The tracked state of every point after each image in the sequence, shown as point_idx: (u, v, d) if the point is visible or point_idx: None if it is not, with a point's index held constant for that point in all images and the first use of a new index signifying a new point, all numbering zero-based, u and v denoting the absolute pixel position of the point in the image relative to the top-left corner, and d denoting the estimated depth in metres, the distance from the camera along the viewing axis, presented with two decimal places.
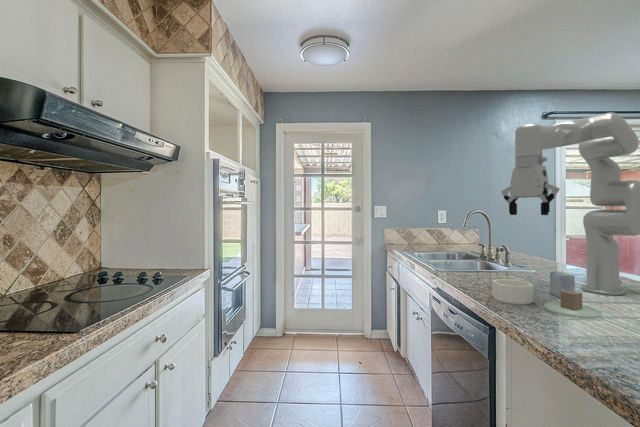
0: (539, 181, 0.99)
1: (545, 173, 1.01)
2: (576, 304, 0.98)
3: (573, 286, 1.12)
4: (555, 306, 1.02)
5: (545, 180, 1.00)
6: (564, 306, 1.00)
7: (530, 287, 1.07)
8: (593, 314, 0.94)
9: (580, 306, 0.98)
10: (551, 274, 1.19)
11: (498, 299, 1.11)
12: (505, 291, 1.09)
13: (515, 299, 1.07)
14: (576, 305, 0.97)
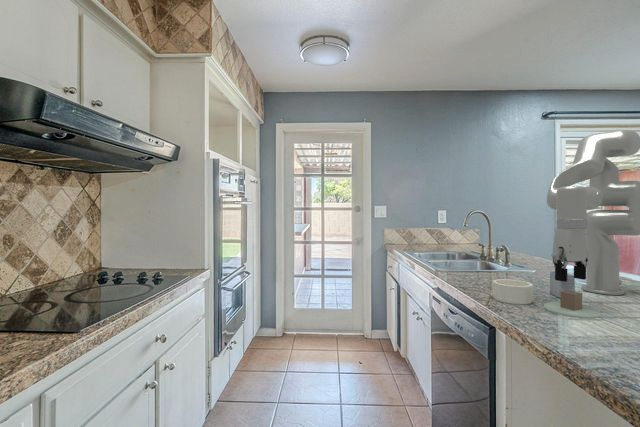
0: (586, 246, 0.99)
1: None
2: (576, 304, 0.98)
3: (573, 286, 1.12)
4: (555, 306, 1.02)
5: None
6: (564, 306, 1.00)
7: (530, 287, 1.07)
8: (593, 314, 0.94)
9: (580, 306, 0.98)
10: (551, 274, 1.19)
11: (498, 299, 1.11)
12: (505, 291, 1.09)
13: (515, 299, 1.07)
14: (576, 305, 0.97)
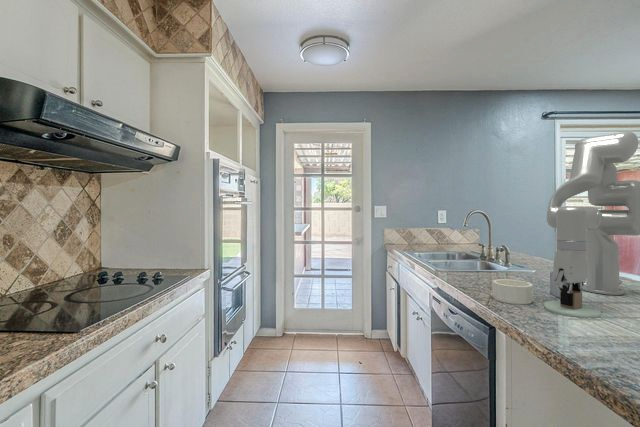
0: (586, 266, 1.00)
1: None
2: (576, 303, 0.97)
3: None
4: (555, 305, 1.02)
5: None
6: (564, 305, 1.00)
7: (530, 287, 1.07)
8: (593, 313, 0.94)
9: (580, 305, 0.98)
10: (551, 274, 1.19)
11: (498, 299, 1.11)
12: (505, 291, 1.09)
13: (515, 299, 1.07)
14: (575, 304, 0.97)
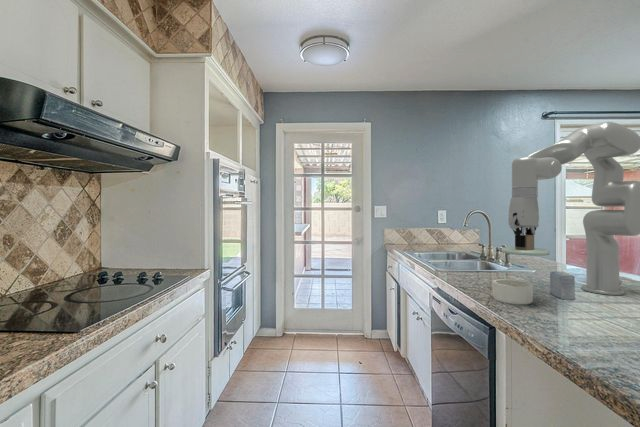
0: (538, 212, 1.09)
1: None
2: (528, 245, 1.07)
3: (573, 286, 1.12)
4: (511, 248, 1.11)
5: None
6: (518, 247, 1.09)
7: (530, 287, 1.07)
8: (542, 251, 1.03)
9: (532, 247, 1.08)
10: (551, 274, 1.19)
11: (498, 299, 1.11)
12: (505, 291, 1.09)
13: (515, 299, 1.07)
14: (528, 245, 1.07)
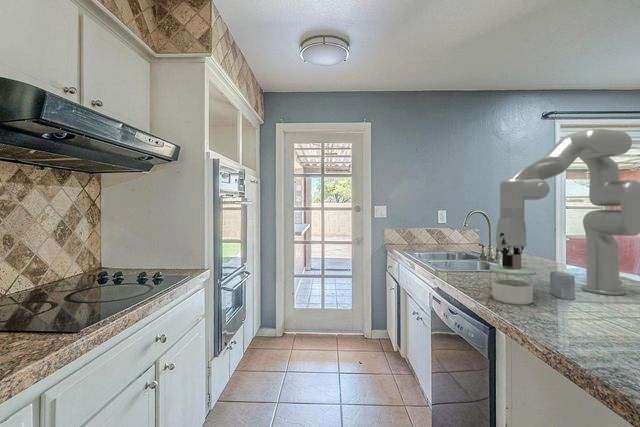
0: (525, 232, 1.12)
1: None
2: (515, 264, 1.10)
3: (573, 286, 1.12)
4: (498, 267, 1.14)
5: None
6: (505, 266, 1.12)
7: (530, 287, 1.07)
8: (527, 271, 1.06)
9: (519, 266, 1.11)
10: (551, 274, 1.19)
11: (498, 299, 1.11)
12: (505, 291, 1.09)
13: (515, 299, 1.07)
14: (514, 265, 1.10)
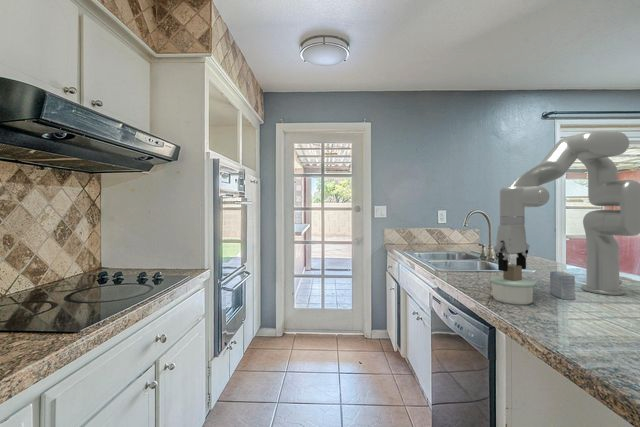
0: (525, 239, 1.12)
1: None
2: (515, 276, 1.10)
3: (573, 286, 1.12)
4: (499, 278, 1.14)
5: None
6: (506, 278, 1.12)
7: (530, 287, 1.07)
8: (528, 283, 1.06)
9: (519, 277, 1.11)
10: (551, 274, 1.19)
11: (498, 299, 1.11)
12: (505, 291, 1.09)
13: (515, 299, 1.07)
14: (515, 276, 1.10)
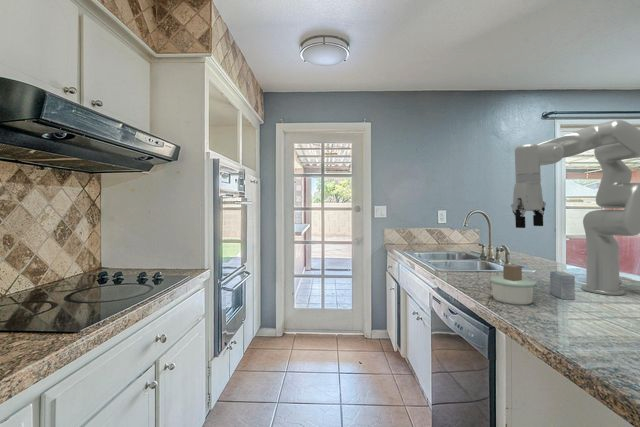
0: None
1: None
2: (515, 276, 1.10)
3: (573, 286, 1.12)
4: (499, 278, 1.14)
5: None
6: (506, 278, 1.12)
7: (530, 287, 1.07)
8: (528, 283, 1.06)
9: (519, 277, 1.11)
10: (551, 274, 1.19)
11: (498, 299, 1.11)
12: (505, 291, 1.09)
13: (515, 299, 1.07)
14: (515, 276, 1.10)
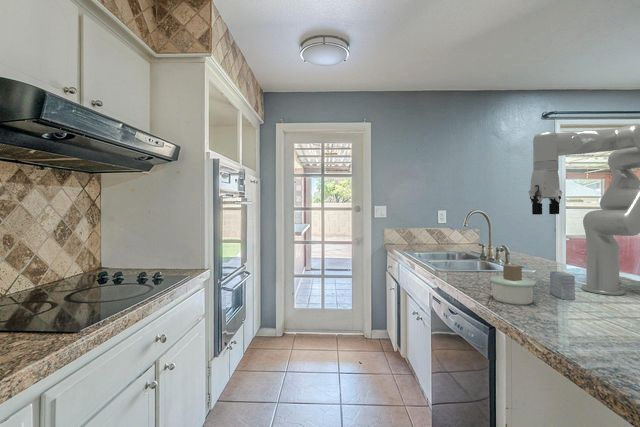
0: (559, 185, 1.15)
1: None
2: (515, 276, 1.10)
3: (573, 286, 1.12)
4: (499, 278, 1.14)
5: None
6: (506, 278, 1.12)
7: (530, 287, 1.07)
8: (528, 283, 1.06)
9: (519, 277, 1.11)
10: (551, 274, 1.19)
11: (498, 299, 1.11)
12: (505, 291, 1.09)
13: (515, 299, 1.07)
14: (515, 276, 1.10)
